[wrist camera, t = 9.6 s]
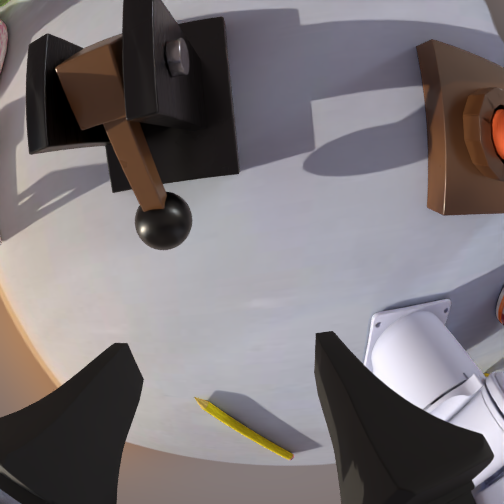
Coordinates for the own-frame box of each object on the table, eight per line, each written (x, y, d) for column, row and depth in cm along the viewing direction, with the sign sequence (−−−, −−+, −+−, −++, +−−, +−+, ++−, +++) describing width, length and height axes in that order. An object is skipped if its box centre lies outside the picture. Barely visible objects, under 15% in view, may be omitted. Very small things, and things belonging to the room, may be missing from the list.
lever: (199, 215, 16) (196, 258, 14) (151, 221, 16) (143, 263, 14) (146, 25, 7) (118, 41, 5) (79, 49, 7) (40, 76, 6)
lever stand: (240, 172, 17) (225, 206, 8) (119, 189, 17) (19, 238, 8) (224, 23, 13) (200, -72, 4) (107, 51, 13) (12, 9, 4)
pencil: (294, 458, 27) (288, 461, 28) (293, 452, 28) (286, 455, 29) (197, 398, 23) (189, 402, 23) (198, 391, 24) (190, 395, 24)
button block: (504, 206, 17) (534, 219, 13) (426, 207, 17) (459, 223, 14) (500, 75, 13) (530, 72, 9) (415, 46, 13) (446, 32, 9)
